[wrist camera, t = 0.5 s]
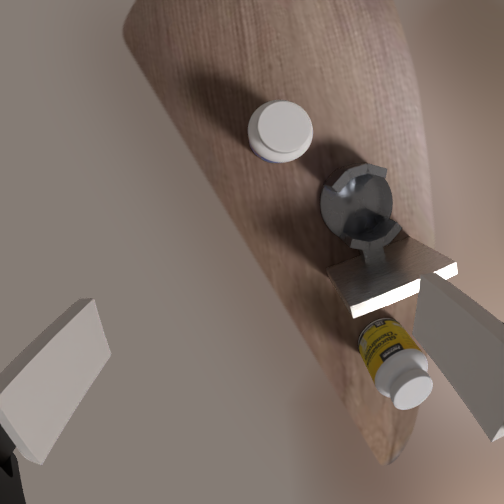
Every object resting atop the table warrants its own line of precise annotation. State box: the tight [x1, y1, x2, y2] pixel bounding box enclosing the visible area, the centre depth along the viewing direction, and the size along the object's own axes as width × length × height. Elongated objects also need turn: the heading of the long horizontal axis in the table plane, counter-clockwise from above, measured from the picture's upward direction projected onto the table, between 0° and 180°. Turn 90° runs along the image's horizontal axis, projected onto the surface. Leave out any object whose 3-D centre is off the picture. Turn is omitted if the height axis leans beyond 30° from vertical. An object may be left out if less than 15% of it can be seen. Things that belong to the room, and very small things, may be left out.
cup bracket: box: [320, 163, 457, 318], centre depth 28 cm, size 11×11×10 cm
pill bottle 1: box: [248, 100, 313, 163], centre depth 26 cm, size 5×5×10 cm
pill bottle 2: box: [358, 318, 433, 410], centre depth 31 cm, size 6×6×12 cm
